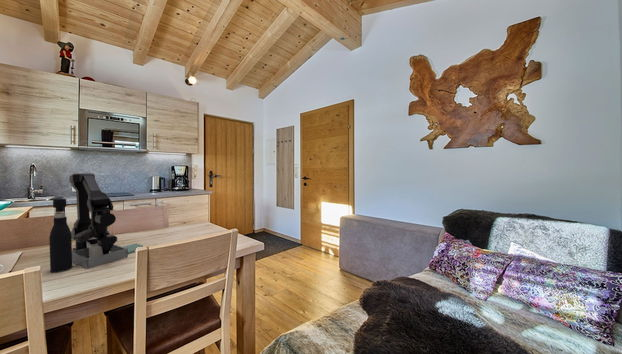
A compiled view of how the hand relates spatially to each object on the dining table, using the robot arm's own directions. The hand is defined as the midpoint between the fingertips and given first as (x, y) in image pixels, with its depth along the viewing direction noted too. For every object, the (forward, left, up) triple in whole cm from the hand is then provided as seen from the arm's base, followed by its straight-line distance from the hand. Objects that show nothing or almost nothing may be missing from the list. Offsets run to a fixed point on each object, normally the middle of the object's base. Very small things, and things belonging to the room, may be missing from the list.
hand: (100, 255), depth 112 cm
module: (0, 0, -2) cm, 2 cm away
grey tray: (0, 0, -2) cm, 2 cm away
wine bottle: (0, -13, -2) cm, 13 cm away
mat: (-1, +14, -2) cm, 14 cm away
